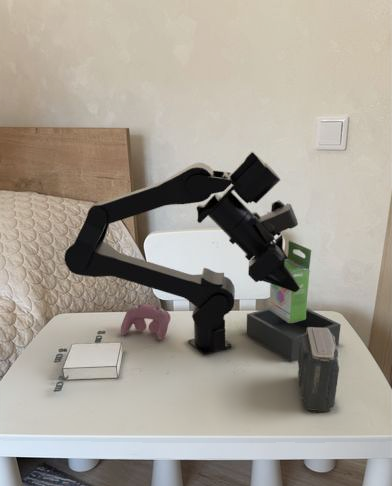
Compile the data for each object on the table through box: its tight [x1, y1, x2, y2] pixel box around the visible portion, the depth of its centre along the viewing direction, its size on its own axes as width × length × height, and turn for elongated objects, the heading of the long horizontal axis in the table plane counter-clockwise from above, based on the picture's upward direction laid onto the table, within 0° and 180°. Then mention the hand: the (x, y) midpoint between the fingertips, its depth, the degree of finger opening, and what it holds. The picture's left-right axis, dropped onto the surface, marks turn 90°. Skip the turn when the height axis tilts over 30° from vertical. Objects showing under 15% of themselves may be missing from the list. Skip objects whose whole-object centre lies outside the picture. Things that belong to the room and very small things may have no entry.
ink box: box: [269, 240, 312, 323], centre depth 95 cm, size 7×4×13 cm, turn 24°
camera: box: [297, 327, 340, 413], centre depth 84 cm, size 11×6×10 cm, turn 172°
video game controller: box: [120, 303, 171, 341], centre depth 107 cm, size 10×5×7 cm, turn 71°
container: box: [53, 330, 124, 392], centre depth 95 cm, size 20×12×3 cm, turn 2°
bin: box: [246, 307, 341, 363], centre depth 103 cm, size 14×12×5 cm
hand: (296, 282), depth 95 cm, fingers closed on ink box, 8 cm apart
